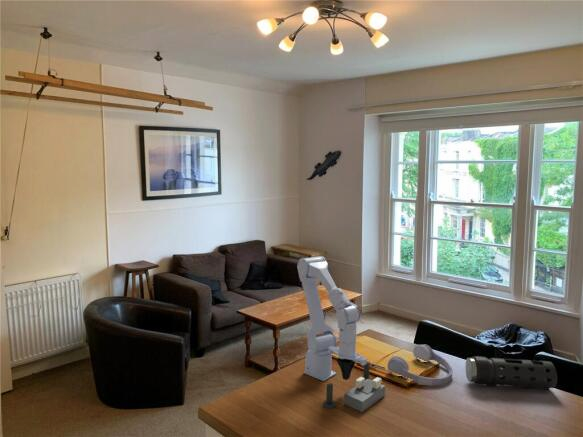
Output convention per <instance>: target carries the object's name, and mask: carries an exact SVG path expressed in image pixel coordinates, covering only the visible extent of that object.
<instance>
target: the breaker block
mask: <svg viewBox="0 0 583 437" xmlns="http://www.w3.org/2000/svg"><path fill="white" fill-rule="evenodd" d="M343 395H344V396H343V404H344V405H346V406H348V407H350V408H351V409H352V408H353V409H354V410H356V411H359V412H361V413H363V412H364V411H366V410H367V409H368V408H370V407H372V405H374V404H375V403H377V402H378V401H379V400H381V399H383V397H385V396H386V385H384V384H382V378H381V377H378V376H377V377H375V378H374V379H372V380H369V379H366V380H365V385H364V386H363V387H361V388H360V389H359V388H357V387H356V386H354V387H353V388H351V389H349V390H348V391H346V392H345V393H344V394H343Z"/></svg>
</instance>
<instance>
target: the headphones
mask: <svg viewBox="0 0 583 437" xmlns="http://www.w3.org/2000/svg"><path fill="white" fill-rule="evenodd" d="M412 353H413V357H414V358H415V357H416V358H419V359H422V360H424V361H428V362H430V361H435V362H436V361H437V362H436V363H438V364H439V365H441V366H442V367H443V368H445V369H446V370H447V372H448V374H447V375H446V376H443V377H440V378H439V377H437V378H436V377H433V378H432V377H426V376H422V375H418V374H415V373H413V372H410V371H409V370H410V367H409V363H408V362H407V360H406V359H404V358H403V357H401V356H399V355H393V356H392V357H390V359H389V360H388V362H387V369H388V371H389V370H390V371H391V372H394V373H397V374H399V375H402V376H404V377H407V378H410V379H413V381H414V383H416V384H420V385H424V386H429V387H431V386H434V387H436V386H443V385H447V384H448V383H450V382H451V380H452V377H453V367H452V366H451V364H450V363H449V361H447V360H446V359H445V358H443V357H442V356H440V355H439V354H437V353H436V352H434V350H433V349H432V348H431V346H430V345H428V344H418V345H415V346H414V347H413V351H412ZM416 358H415V359H416ZM429 360H430V361H429ZM404 377H403V378H404ZM413 381H412V382H413Z"/></svg>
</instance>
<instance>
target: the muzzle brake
mask: <svg viewBox="0 0 583 437" xmlns="http://www.w3.org/2000/svg"><path fill="white" fill-rule="evenodd" d="M546 370H547V371H546ZM465 375H466V379H467V381H468V382H469V383H473V384H474V385H481V386H482V385H483V386H484V385H485V387H494V388H496V387H497V386H509V387H511V386H512V387H513V388H521V389H533V390H546V391H547V390H548V391H549V390H550V389H554V388H555V387H557V383H558V374H557V370H556V367H555V365H554V363H553V362H552V361H549V360H548V361H547V360H533V359H532V360H530V359H529V360H528V359H516V358H514V359H513V358H501V357H500V358H498V357H490V358H487V357H486V356H479V355H477V356H476V355H475V356H472V357H467V358H466V359H465Z"/></svg>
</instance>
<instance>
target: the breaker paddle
mask: <svg viewBox="0 0 583 437" xmlns="http://www.w3.org/2000/svg"><path fill="white" fill-rule="evenodd" d="M364 385H365V378H363V376H360V377H358V378H356V379H355V387H357V388H359V389H360V388H361V387H363V386H364Z"/></svg>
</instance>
